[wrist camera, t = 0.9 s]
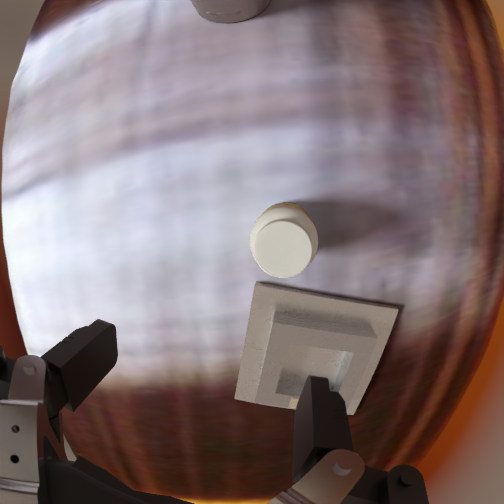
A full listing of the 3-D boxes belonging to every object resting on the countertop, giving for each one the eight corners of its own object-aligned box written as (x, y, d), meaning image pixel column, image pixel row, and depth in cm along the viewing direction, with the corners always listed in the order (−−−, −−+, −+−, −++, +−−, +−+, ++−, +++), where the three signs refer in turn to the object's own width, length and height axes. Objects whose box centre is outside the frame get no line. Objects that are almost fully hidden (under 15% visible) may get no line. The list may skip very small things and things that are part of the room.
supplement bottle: (266, 196, 28) (254, 200, 19) (318, 210, 28) (332, 221, 18) (253, 247, 29) (235, 275, 20) (303, 261, 29) (309, 296, 20)
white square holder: (256, 281, 30) (251, 294, 26) (395, 306, 29) (407, 320, 25) (235, 393, 34) (230, 412, 30) (352, 410, 32) (356, 428, 29)
